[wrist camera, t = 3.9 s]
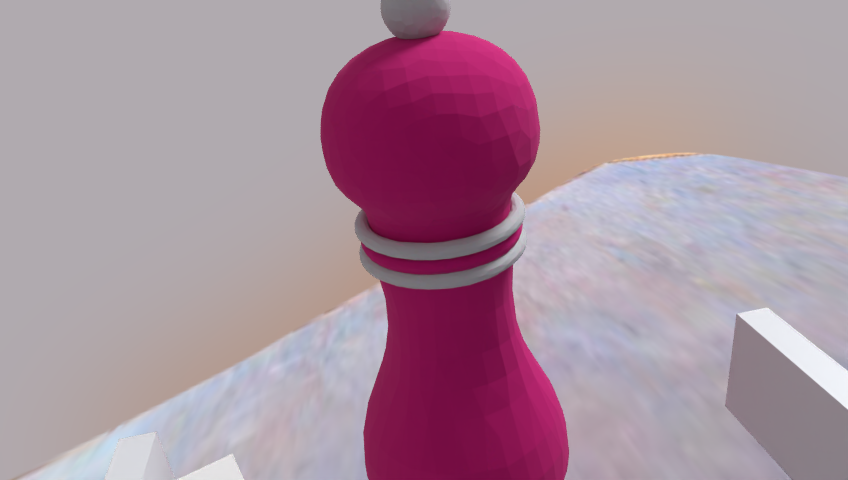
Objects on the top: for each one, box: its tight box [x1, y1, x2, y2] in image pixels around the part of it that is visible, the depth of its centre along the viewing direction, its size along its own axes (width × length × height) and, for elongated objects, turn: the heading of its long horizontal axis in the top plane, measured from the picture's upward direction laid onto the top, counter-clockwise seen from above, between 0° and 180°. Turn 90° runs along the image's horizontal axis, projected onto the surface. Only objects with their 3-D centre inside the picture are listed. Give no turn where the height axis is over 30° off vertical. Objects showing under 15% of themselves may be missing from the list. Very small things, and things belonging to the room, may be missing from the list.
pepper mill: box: [321, 0, 569, 480], centre depth 20 cm, size 7×7×20 cm
